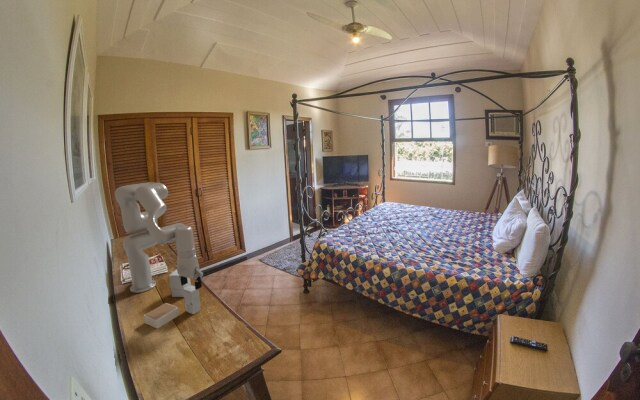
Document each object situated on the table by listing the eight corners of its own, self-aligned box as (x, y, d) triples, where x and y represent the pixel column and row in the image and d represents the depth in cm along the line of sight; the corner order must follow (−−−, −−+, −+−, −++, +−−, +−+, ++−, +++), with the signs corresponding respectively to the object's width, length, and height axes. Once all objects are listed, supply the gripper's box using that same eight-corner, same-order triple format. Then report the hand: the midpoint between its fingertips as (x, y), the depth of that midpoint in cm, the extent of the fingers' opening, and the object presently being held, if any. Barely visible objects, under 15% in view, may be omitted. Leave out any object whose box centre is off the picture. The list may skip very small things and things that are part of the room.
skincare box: (185, 311, 138) (182, 288, 136) (193, 306, 142) (190, 284, 140) (193, 315, 136) (190, 292, 133) (201, 310, 139) (198, 287, 137)
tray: (145, 323, 130) (143, 314, 129) (167, 310, 140) (165, 302, 139) (157, 328, 126) (156, 320, 125) (179, 314, 136) (178, 306, 135)
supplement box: (192, 290, 158) (189, 269, 155) (184, 297, 150) (181, 275, 148) (179, 289, 158) (176, 268, 155) (171, 297, 151) (168, 275, 148)
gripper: (167, 252, 133) (172, 286, 136) (192, 258, 125) (197, 294, 129) (181, 247, 139) (186, 279, 143) (206, 252, 131) (210, 286, 135)
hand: (191, 286), depth 136 cm, fingers open, 9 cm apart
